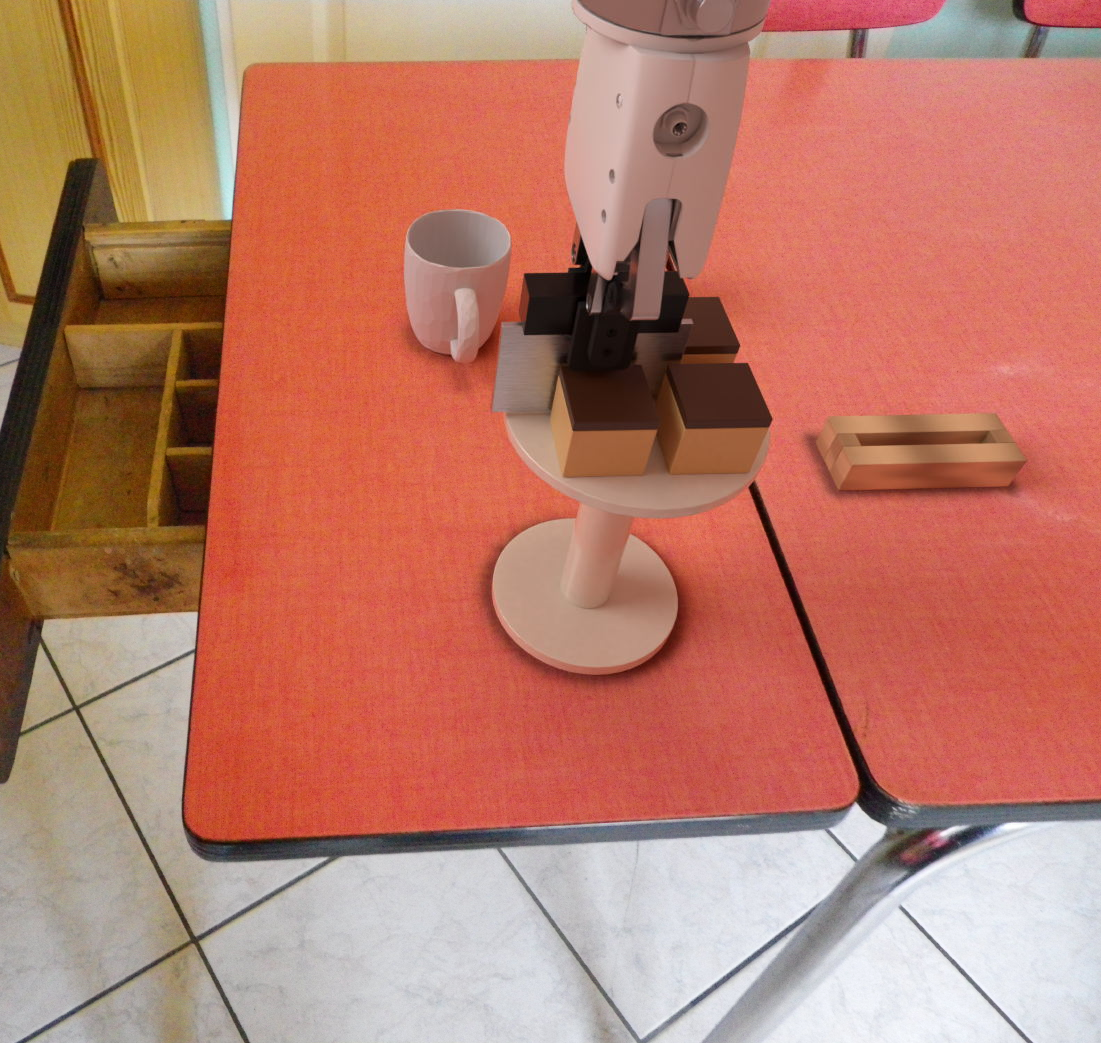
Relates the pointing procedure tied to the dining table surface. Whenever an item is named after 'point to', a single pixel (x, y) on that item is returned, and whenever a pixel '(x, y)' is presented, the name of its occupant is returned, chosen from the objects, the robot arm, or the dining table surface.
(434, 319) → the mug
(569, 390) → the cake
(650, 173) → the robot arm
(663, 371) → the knife
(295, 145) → the dining table surface
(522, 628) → the cake stand
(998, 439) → the knife block
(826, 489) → the dining table surface
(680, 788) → the dining table surface
